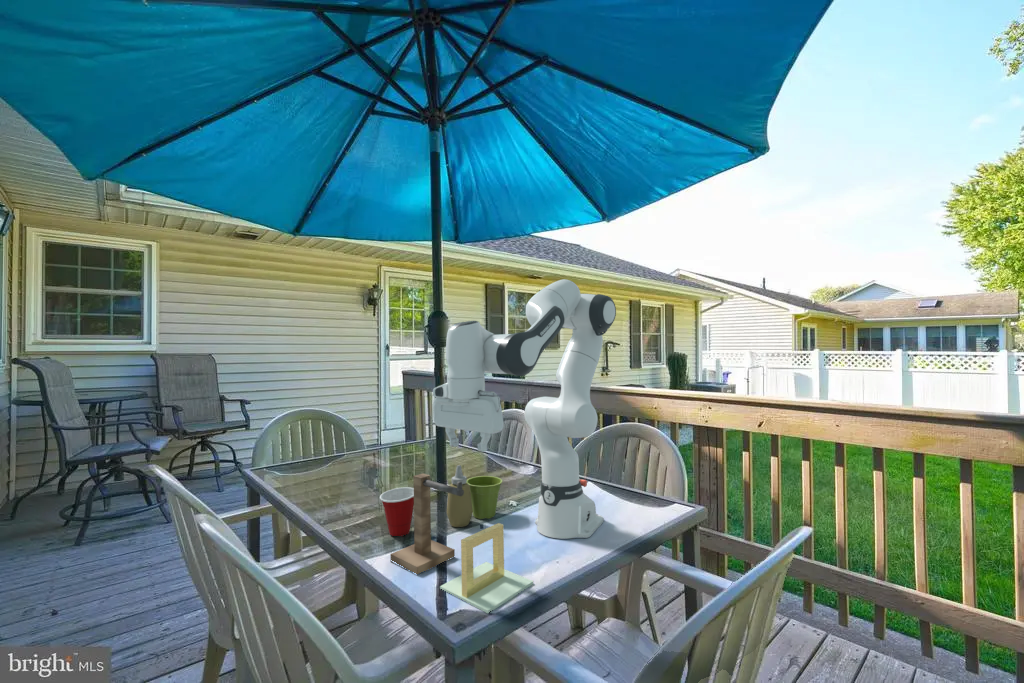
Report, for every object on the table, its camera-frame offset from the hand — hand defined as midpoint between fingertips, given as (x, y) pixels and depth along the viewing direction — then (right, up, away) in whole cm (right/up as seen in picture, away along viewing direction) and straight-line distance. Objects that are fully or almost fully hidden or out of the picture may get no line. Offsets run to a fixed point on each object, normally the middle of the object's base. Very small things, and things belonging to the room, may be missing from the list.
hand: (468, 448), depth 105 cm
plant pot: (+1, -32, +40) cm, 51 cm away
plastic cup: (-23, -32, +27) cm, 48 cm away
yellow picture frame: (+4, -30, -4) cm, 30 cm away
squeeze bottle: (-6, -32, +33) cm, 46 cm away
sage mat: (+5, -31, -3) cm, 31 cm away
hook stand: (-9, -31, +7) cm, 33 cm away
